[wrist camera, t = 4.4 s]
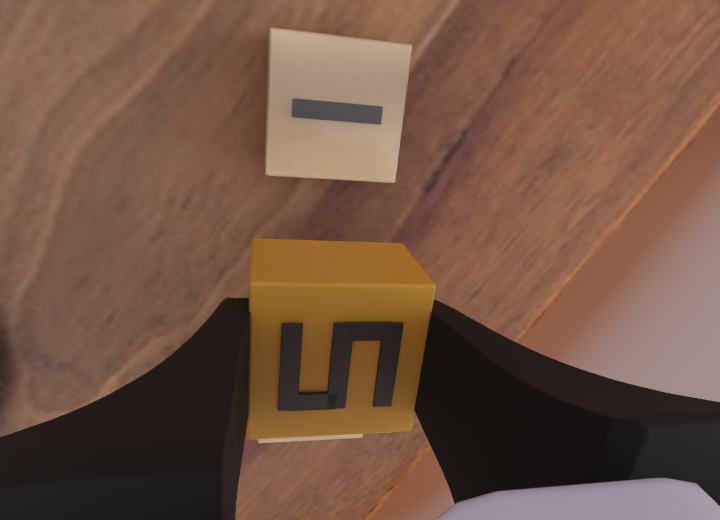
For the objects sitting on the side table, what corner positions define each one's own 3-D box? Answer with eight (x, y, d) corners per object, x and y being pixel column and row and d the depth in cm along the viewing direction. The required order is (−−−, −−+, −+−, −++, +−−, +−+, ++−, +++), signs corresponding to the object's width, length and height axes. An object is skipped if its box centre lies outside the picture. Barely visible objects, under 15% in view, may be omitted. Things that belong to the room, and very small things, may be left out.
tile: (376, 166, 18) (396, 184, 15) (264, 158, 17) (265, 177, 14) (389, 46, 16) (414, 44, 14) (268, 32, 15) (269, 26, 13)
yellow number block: (385, 367, 15) (413, 435, 12) (248, 371, 14) (245, 444, 11) (403, 242, 13) (439, 287, 10) (251, 237, 12) (248, 284, 10)
